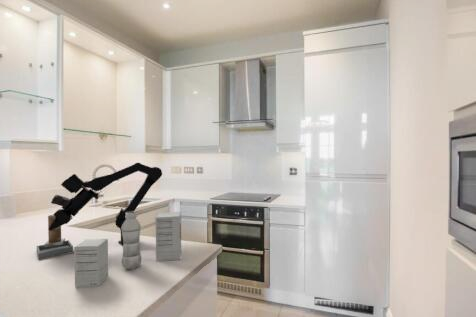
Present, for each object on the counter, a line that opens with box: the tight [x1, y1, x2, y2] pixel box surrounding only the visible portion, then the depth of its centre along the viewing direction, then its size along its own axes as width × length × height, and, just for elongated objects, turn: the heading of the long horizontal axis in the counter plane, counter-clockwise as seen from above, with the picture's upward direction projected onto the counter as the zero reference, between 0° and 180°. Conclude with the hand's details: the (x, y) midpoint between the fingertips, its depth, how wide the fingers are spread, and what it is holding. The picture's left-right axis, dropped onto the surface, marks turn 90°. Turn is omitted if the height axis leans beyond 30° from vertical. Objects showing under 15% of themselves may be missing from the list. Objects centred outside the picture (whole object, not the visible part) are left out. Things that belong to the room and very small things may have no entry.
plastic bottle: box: [120, 210, 142, 270], centre depth 92 cm, size 6×7×20 cm
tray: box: [36, 239, 74, 260], centre depth 109 cm, size 12×12×2 cm
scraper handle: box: [43, 214, 66, 247], centre depth 109 cm, size 6×6×12 cm
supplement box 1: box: [73, 238, 109, 288], centre depth 82 cm, size 7×7×13 cm
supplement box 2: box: [155, 211, 182, 262], centre depth 103 cm, size 10×9×17 cm
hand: (50, 228), depth 109 cm, fingers closed on scraper handle, 4 cm apart
